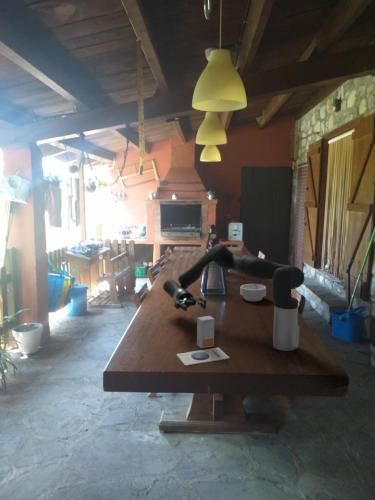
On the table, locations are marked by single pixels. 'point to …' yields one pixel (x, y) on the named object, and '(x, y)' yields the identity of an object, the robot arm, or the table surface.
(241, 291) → the paper bowls
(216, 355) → the paper sheet
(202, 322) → the skincare box
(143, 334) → the table surface
